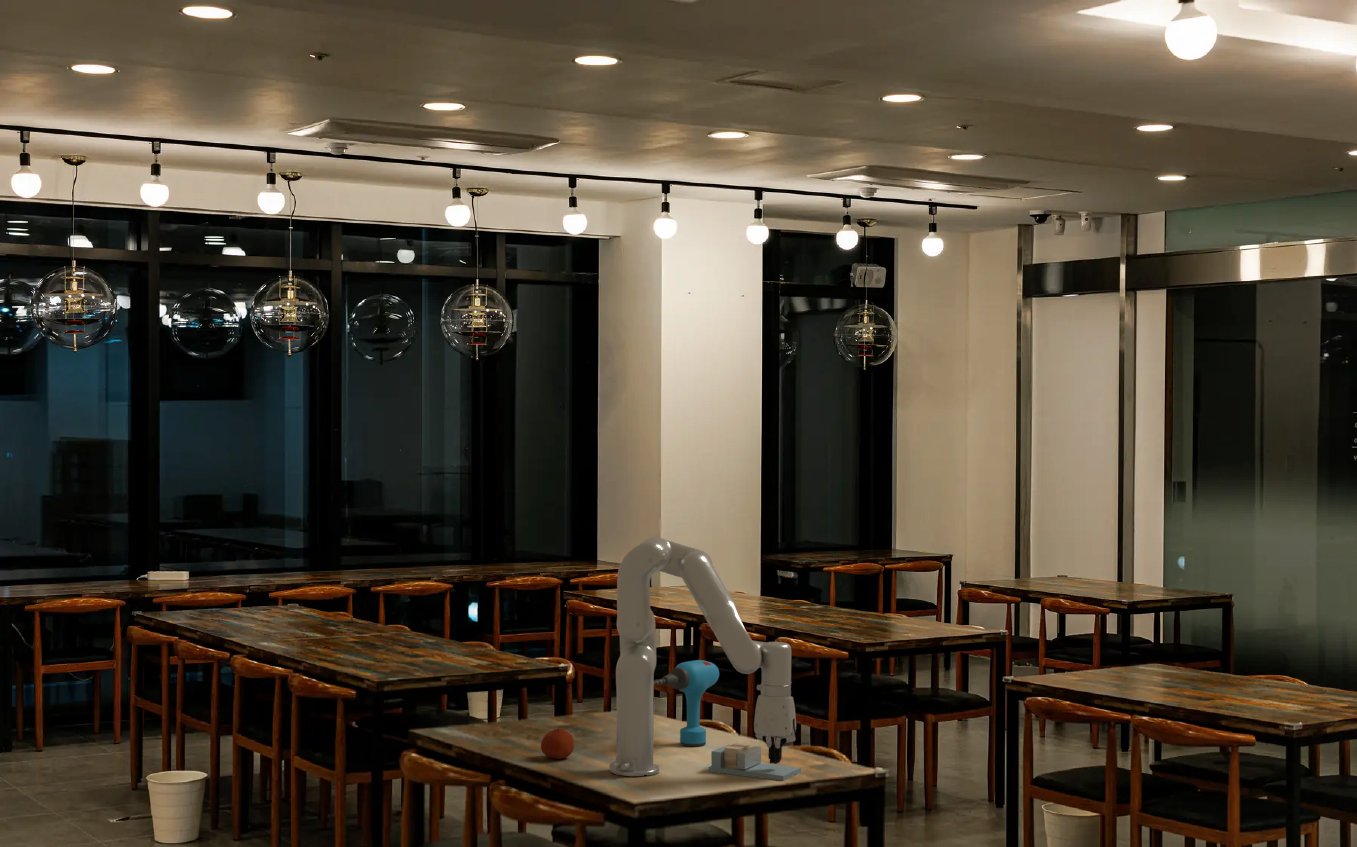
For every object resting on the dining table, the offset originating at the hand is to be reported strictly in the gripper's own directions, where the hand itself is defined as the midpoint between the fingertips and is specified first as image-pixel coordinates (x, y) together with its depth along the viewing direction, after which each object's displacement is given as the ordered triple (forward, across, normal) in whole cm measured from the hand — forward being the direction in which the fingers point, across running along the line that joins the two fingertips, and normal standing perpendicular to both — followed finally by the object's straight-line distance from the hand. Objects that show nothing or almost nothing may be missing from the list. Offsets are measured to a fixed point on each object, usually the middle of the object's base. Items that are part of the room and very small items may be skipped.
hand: (775, 762), depth 406 cm
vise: (+3, -6, 0) cm, 6 cm away
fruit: (+4, -59, -11) cm, 60 cm away
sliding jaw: (+2, -7, 0) cm, 8 cm away
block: (+2, -11, 0) cm, 11 cm away
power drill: (+3, -37, +19) cm, 42 cm away
